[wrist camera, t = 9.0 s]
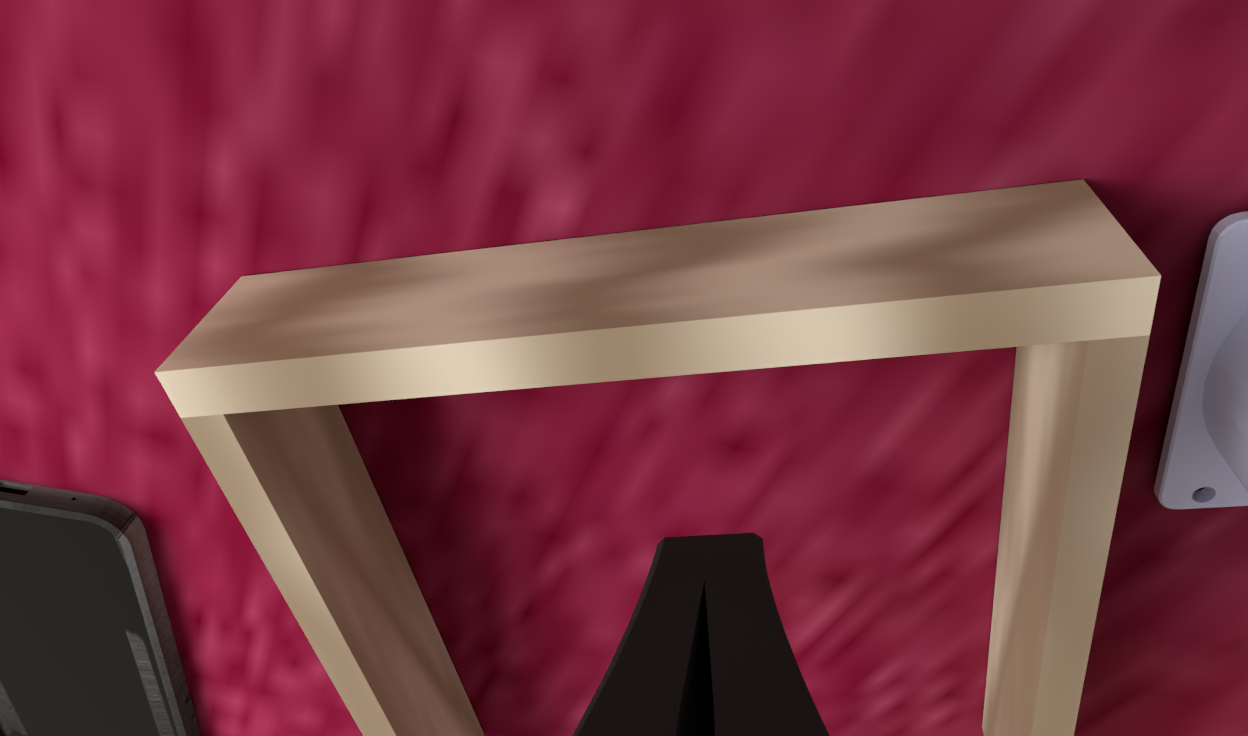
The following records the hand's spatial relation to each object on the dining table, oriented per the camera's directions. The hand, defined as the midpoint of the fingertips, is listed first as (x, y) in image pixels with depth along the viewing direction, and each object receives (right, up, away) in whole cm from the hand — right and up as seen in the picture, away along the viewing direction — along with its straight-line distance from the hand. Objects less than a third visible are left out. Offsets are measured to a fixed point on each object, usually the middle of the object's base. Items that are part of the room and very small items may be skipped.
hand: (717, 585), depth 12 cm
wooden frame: (0, -2, +13) cm, 13 cm away
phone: (-21, -6, +19) cm, 29 cm away
